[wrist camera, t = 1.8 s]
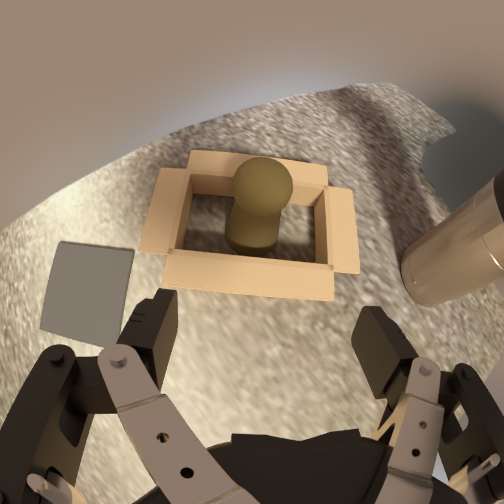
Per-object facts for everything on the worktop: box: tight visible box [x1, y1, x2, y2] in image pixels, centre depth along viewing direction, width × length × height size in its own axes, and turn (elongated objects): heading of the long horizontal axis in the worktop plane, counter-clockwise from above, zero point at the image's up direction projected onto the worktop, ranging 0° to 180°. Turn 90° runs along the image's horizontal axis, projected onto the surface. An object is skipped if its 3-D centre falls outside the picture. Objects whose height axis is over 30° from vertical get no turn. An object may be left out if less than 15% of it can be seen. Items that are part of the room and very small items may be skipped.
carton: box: [138, 150, 360, 301], centre depth 30 cm, size 22×16×4 cm
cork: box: [225, 157, 293, 257], centre depth 26 cm, size 6×6×11 cm
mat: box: [40, 243, 135, 348], centre depth 27 cm, size 11×11×1 cm
